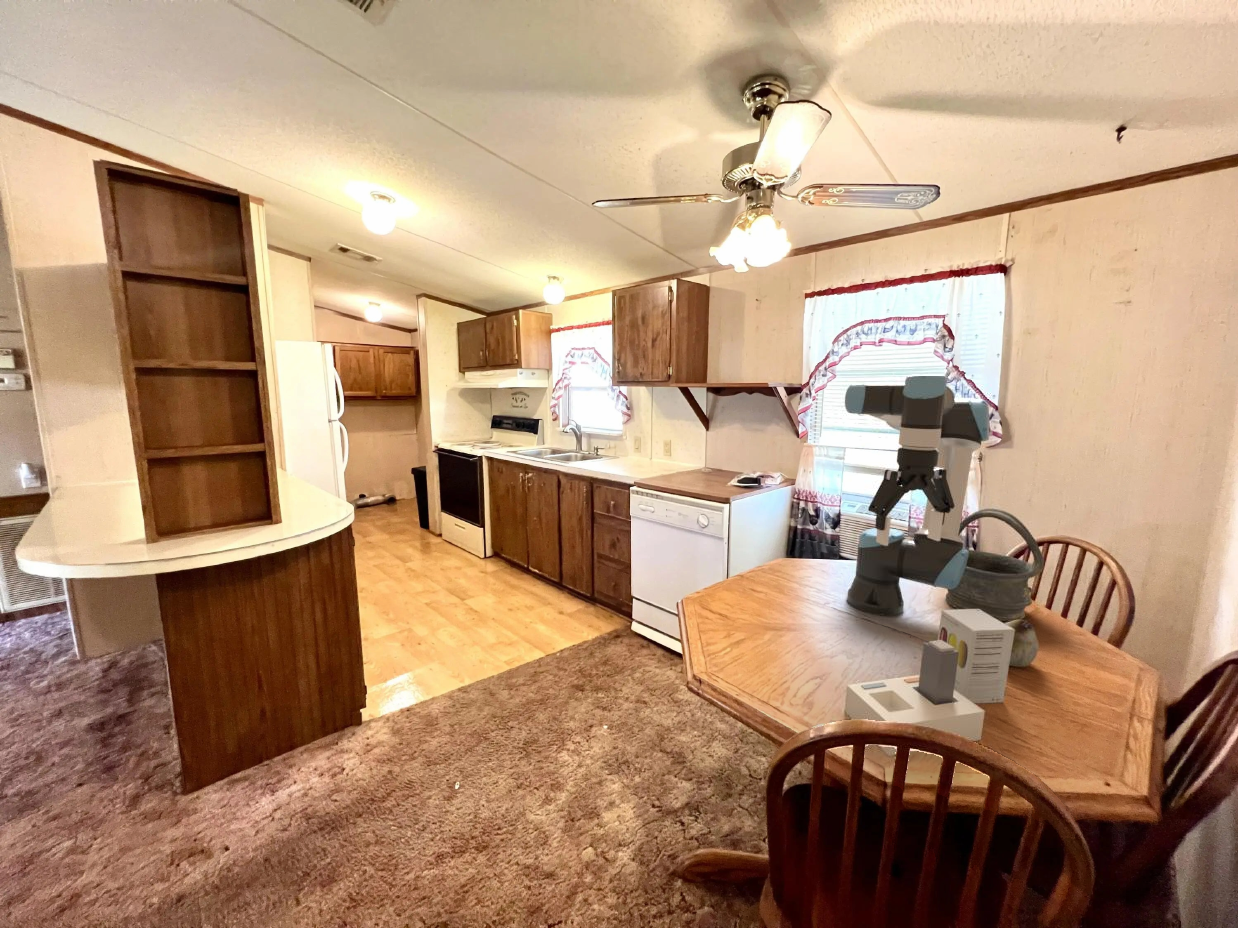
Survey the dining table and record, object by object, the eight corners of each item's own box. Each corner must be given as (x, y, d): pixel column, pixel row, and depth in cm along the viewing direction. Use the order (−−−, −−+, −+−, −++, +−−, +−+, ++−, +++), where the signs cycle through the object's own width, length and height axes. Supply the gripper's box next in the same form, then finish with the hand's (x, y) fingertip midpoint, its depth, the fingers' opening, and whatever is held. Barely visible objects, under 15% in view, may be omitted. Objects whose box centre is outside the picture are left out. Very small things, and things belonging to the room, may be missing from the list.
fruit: (1021, 677, 109) (1029, 629, 107) (975, 657, 117) (981, 611, 115) (1043, 665, 114) (1050, 619, 112) (997, 646, 122) (1003, 602, 120)
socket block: (926, 698, 102) (929, 671, 101) (980, 739, 90) (984, 710, 89) (843, 710, 98) (846, 683, 96) (888, 755, 86) (892, 725, 85)
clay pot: (968, 586, 158) (980, 498, 153) (1051, 618, 137) (1068, 517, 132) (920, 596, 151) (931, 504, 146) (1001, 632, 129) (1017, 525, 124)
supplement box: (930, 677, 109) (939, 608, 106) (968, 675, 110) (978, 607, 107) (964, 705, 99) (974, 630, 97) (1005, 703, 100) (1016, 628, 97)
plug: (933, 700, 96) (941, 637, 94) (950, 713, 92) (959, 648, 90) (916, 702, 96) (924, 639, 93) (933, 716, 92) (941, 651, 89)
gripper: (950, 443, 109) (940, 532, 113) (855, 446, 104) (847, 539, 108) (981, 447, 102) (969, 542, 106) (881, 451, 97) (872, 551, 100)
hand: (908, 541), depth 107 cm, fingers open, 13 cm apart
